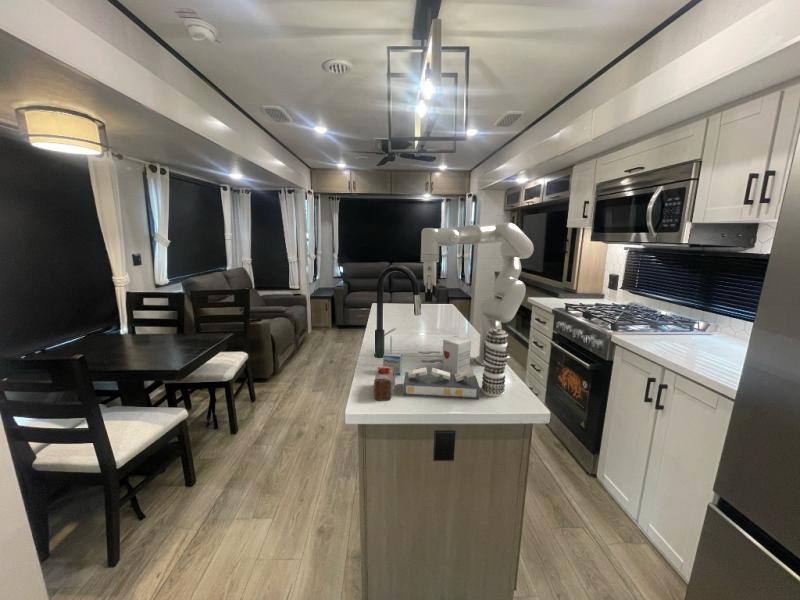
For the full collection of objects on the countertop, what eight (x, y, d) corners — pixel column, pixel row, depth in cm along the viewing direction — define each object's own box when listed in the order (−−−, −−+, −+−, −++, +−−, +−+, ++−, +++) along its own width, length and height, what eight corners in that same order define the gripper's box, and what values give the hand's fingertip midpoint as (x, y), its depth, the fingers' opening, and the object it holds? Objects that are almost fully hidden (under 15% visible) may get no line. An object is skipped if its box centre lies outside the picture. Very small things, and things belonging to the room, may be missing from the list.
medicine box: (382, 374, 139) (382, 355, 138) (384, 370, 144) (384, 352, 142) (400, 375, 138) (400, 356, 137) (401, 371, 143) (402, 353, 141)
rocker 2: (448, 375, 125) (449, 372, 125) (449, 379, 122) (450, 376, 121) (431, 371, 125) (432, 367, 125) (431, 374, 122) (432, 371, 122)
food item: (376, 384, 130) (376, 361, 128) (395, 384, 130) (395, 361, 128) (372, 400, 117) (372, 375, 115) (394, 401, 117) (395, 376, 115)
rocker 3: (473, 371, 124) (471, 367, 124) (474, 375, 120) (472, 371, 120) (456, 377, 125) (454, 374, 125) (457, 381, 121) (455, 378, 121)
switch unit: (474, 387, 128) (475, 369, 127) (478, 399, 118) (479, 380, 117) (405, 383, 131) (405, 366, 129) (403, 395, 121) (403, 376, 119)
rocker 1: (426, 370, 125) (425, 367, 125) (426, 374, 122) (425, 370, 122) (409, 374, 126) (408, 370, 126) (409, 377, 123) (408, 374, 123)
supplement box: (441, 370, 144) (442, 338, 141) (454, 365, 150) (455, 335, 147) (456, 377, 137) (458, 344, 135) (469, 372, 143) (471, 340, 140)
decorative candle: (486, 384, 131) (490, 325, 127) (508, 390, 125) (513, 329, 121) (476, 392, 124) (480, 330, 120) (499, 399, 118) (504, 335, 114)
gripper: (439, 259, 126) (437, 305, 129) (438, 257, 140) (436, 298, 144) (420, 259, 126) (419, 304, 130) (421, 257, 141) (420, 298, 144)
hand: (428, 301), depth 137 cm, fingers closed
